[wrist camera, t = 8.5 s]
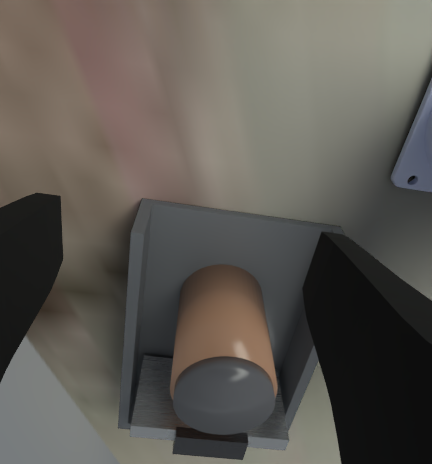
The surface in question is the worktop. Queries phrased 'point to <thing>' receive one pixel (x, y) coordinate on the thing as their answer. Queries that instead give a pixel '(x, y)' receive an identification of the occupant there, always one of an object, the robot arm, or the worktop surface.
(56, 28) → the worktop surface
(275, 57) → the worktop surface
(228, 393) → the jar
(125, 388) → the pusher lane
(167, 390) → the pusher plate
